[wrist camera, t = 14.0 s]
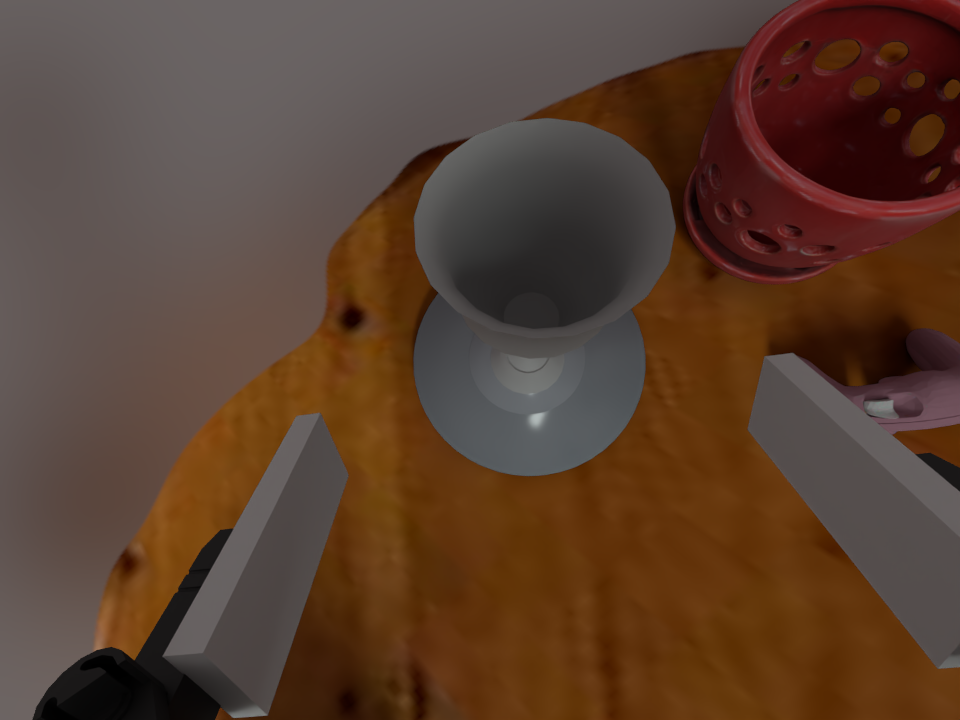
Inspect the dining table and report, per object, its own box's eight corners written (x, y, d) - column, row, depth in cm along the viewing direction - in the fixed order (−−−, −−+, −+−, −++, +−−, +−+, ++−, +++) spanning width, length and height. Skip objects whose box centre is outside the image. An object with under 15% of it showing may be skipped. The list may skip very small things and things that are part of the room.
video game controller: (774, 415, 30) (860, 463, 23) (771, 354, 29) (860, 385, 22) (918, 387, 30) (1049, 427, 23) (920, 323, 29) (1059, 345, 22)
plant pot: (712, 116, 34) (813, -63, 22) (881, 191, 31) (1097, 34, 19) (628, 248, 32) (689, 131, 20) (799, 338, 29) (981, 264, 18)
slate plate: (616, 241, 32) (620, 233, 31) (663, 458, 29) (669, 459, 27) (408, 275, 33) (403, 268, 32) (428, 488, 30) (424, 490, 28)
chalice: (583, 314, 30) (675, 119, 12) (578, 411, 29) (676, 347, 11) (479, 308, 31) (427, 116, 13) (470, 402, 29) (399, 329, 12)
